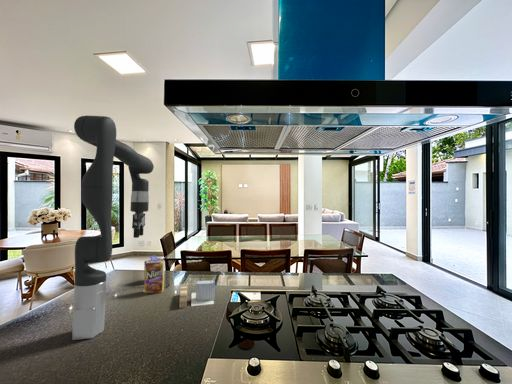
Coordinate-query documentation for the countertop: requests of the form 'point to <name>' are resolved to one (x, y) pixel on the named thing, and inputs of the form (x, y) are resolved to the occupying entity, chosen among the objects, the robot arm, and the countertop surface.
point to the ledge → (183, 296)
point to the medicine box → (205, 290)
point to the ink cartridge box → (152, 260)
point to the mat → (200, 303)
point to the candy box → (154, 276)
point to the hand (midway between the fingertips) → (138, 236)
